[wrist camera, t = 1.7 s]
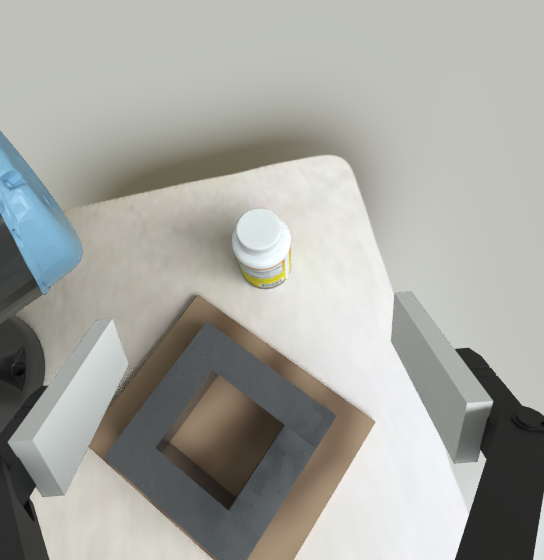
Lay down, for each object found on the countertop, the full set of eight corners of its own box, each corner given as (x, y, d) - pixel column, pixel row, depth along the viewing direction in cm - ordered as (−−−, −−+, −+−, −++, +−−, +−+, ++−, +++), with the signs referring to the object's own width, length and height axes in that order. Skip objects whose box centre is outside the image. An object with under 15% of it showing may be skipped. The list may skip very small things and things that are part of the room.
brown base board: (88, 440, 36) (82, 441, 35) (200, 297, 40) (198, 294, 39) (266, 600, 32) (265, 606, 31) (373, 421, 36) (375, 421, 35)
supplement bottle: (261, 235, 42) (252, 188, 32) (300, 261, 41) (304, 220, 31) (231, 272, 41) (213, 235, 31) (271, 300, 40) (265, 270, 30)
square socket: (123, 450, 35) (103, 457, 31) (215, 328, 38) (206, 321, 34) (242, 554, 32) (236, 576, 28) (331, 413, 35) (336, 416, 31)
